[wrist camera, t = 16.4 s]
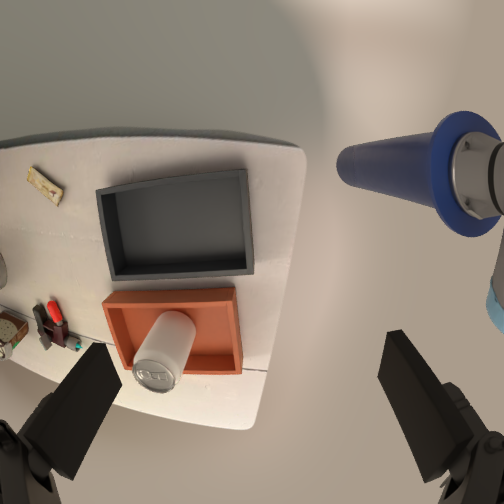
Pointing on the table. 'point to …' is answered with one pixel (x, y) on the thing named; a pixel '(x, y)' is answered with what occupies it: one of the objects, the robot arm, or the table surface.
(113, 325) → the terracotta bin
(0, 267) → the coffee mug
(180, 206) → the grey bin
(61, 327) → the toy gun
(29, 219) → the table surface
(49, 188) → the snack bar
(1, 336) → the food container
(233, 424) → the table surface
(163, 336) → the can
